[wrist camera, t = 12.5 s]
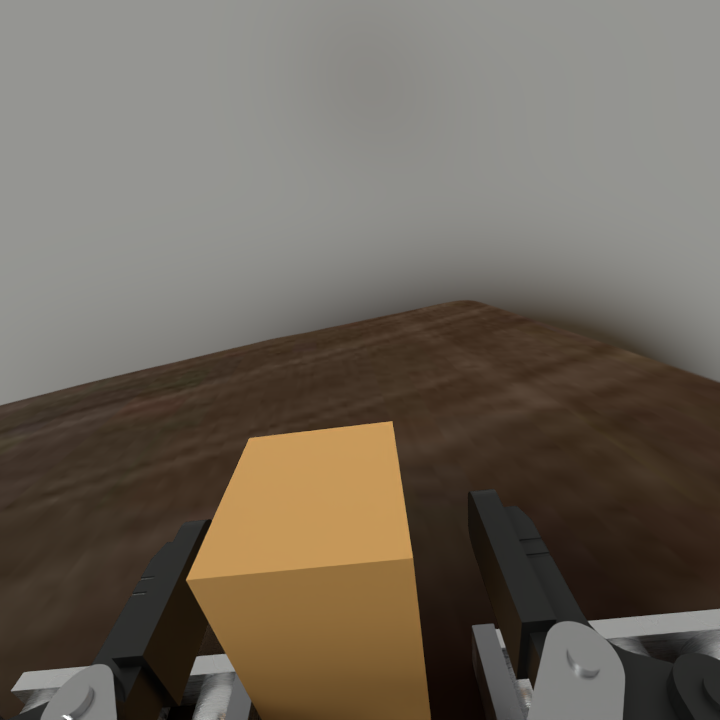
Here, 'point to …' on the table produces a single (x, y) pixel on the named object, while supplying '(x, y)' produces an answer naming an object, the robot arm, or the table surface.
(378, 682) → the tall wooden pillar
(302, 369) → the table surface
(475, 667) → the chain end
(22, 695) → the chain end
